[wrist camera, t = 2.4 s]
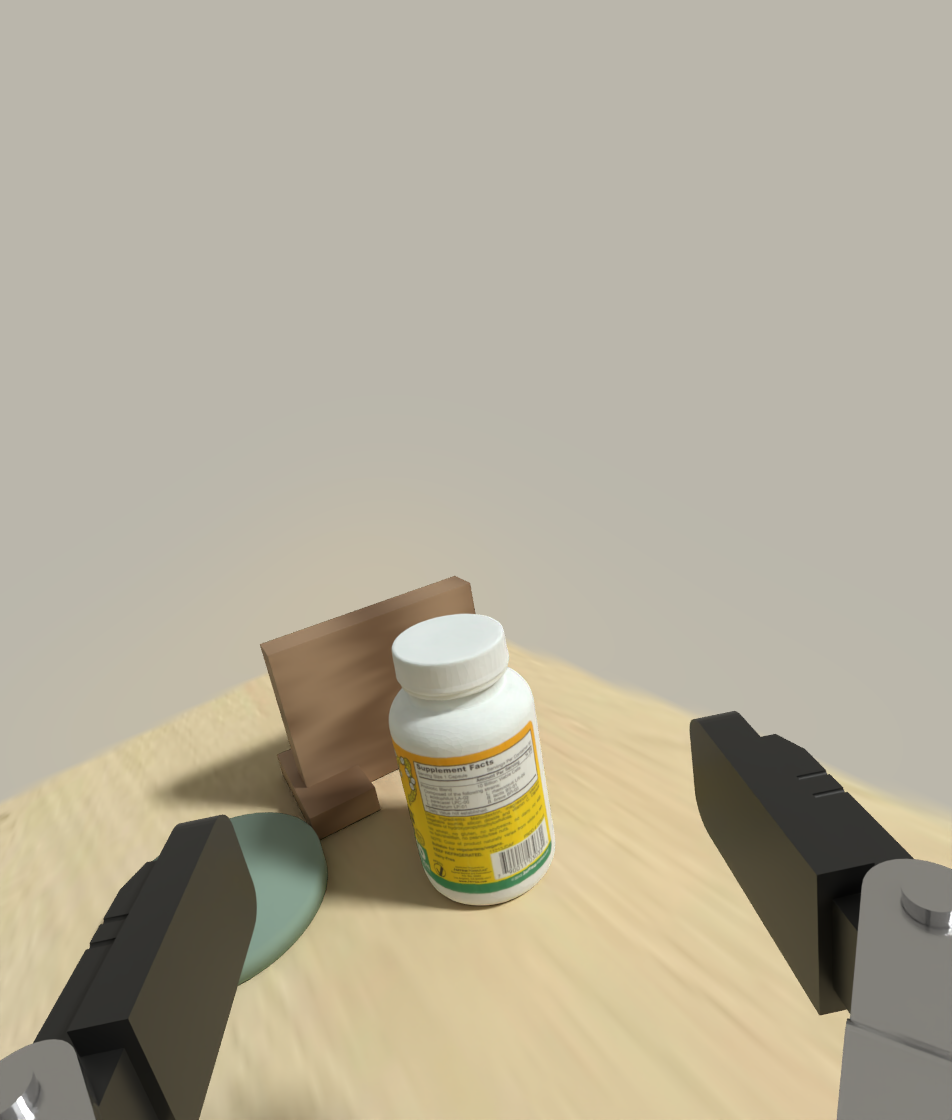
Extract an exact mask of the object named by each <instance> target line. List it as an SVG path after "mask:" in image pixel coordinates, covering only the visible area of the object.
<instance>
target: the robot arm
mask: <svg viewBox="0 0 952 1120" xmlns="http://www.w3.org/2000/svg"><path fill="white" fill-rule="evenodd" d="M690 740H691V752H692V763H693V774H694V786H695V795H696V801H697V805H698V809H699V812H700V816H701V818H702V821H703V823H704V826H705V828H706V830H707V832H708V834H709V835H710V837H711V839H712V840H713V842H714V844H715V845H716V847H717V848H718V850H719V852H720V853H721V855H722V857H723V858H724V860H725V862H726V863H727V865H728V866H729V868H730V870H731V871H732V873H733V875H734V876H735V878H736V880H737V881H738V883H739V884H740V886H741V888H742V889H743V891H744V893H745V894H746V896H747V898H748V899H749V901H750V902H751V904H752V906H753V907H754V909H755V911H756V912H757V914H758V915H759V917H760V919H761V920H762V922H763V924H764V925H765V927H766V929H767V930H768V932H769V933H770V935H771V937H772V938H773V940H774V942H775V943H776V945H777V947H778V948H779V950H780V951H781V953H782V955H783V956H784V958H785V960H786V961H787V963H788V965H789V966H790V968H791V969H792V971H793V973H794V974H795V976H796V978H797V979H798V981H799V983H800V984H801V986H802V987H803V989H804V991H805V992H806V994H807V996H808V997H809V999H810V1001H811V1002H812V1004H813V1005H814V1007H815V1009H816V1010H817V1012H818V1014H819V1015H824V1014H828V1013H833V1012H838V1011H842V1010H848V1011H849V1013H850V1019H847V1022H846V1029H845V1037H844V1047H843V1058H842V1069H841V1079H840V1090H839V1101H838V1111H837V1120H952V869H950V868H947V867H945V866H942V865H939V864H935V863H932V862H928V861H923V860H916V859H914V858H913V857H912V856H911V855H910V854H909V853H908V852H907V851H906V850H905V849H904V848H903V847H902V846H901V845H900V844H899V843H898V842H897V841H896V840H895V839H894V838H893V837H892V836H891V835H890V834H889V833H888V832H887V831H886V830H885V829H884V828H883V827H882V826H881V825H880V824H879V823H878V822H877V821H876V820H875V819H874V818H873V817H872V816H871V815H870V814H869V813H868V812H867V811H866V810H865V809H864V808H863V807H862V806H861V805H860V804H859V803H858V802H857V801H856V800H855V799H854V798H853V797H852V796H851V795H850V794H849V793H848V792H844V790H843V787H842V786H841V785H840V784H839V783H838V782H837V781H836V780H835V779H834V778H833V777H832V776H831V775H830V774H828V775H827V773H826V770H825V769H824V768H823V767H822V766H821V765H820V764H819V763H818V762H817V761H816V760H815V759H814V758H813V757H812V756H811V755H810V754H809V753H808V752H807V751H806V750H805V749H804V748H801V747H800V746H798V745H796V744H794V743H792V742H790V741H788V740H786V739H784V738H782V737H780V736H778V735H776V734H773V735H768V736H763V737H760V736H759V735H758V734H757V732H756V731H755V730H754V729H753V728H752V727H751V726H750V725H749V724H748V723H747V721H746V720H745V719H744V718H743V717H742V716H741V715H740V714H739V713H738V712H736V711H732V712H727V713H722V714H717V715H712V716H708V717H703V718H698V719H693V720H692V721H691V723H690ZM256 916H257V899H256V891H255V887H254V884H253V881H252V878H251V875H250V872H249V869H248V867H247V864H246V861H245V858H244V855H243V853H242V850H241V847H240V844H239V841H238V839H237V836H236V833H235V830H234V827H233V825H232V822H231V821H230V819H229V818H228V817H227V816H226V815H219V816H214V817H209V818H204V819H199V820H194V821H189V822H185V823H180V824H178V825H176V826H175V827H174V829H173V831H172V832H171V834H170V836H169V838H168V840H167V842H166V844H165V846H164V848H163V850H162V851H161V853H160V855H159V857H158V859H157V860H156V861H151V862H146V863H145V864H144V866H143V867H142V868H141V869H140V870H139V871H138V872H137V873H136V874H135V875H134V876H133V877H132V878H131V879H130V880H129V881H128V882H127V883H126V884H125V885H124V886H123V887H122V888H121V889H120V890H119V892H118V894H117V896H116V898H115V899H114V901H113V903H112V905H111V906H110V908H109V910H108V912H107V913H106V915H105V917H104V923H103V924H101V925H100V926H99V928H98V929H97V931H96V933H95V935H94V936H93V938H92V940H91V942H90V948H89V949H87V950H85V952H84V954H83V956H82V958H81V959H80V961H79V963H78V965H77V966H76V968H75V970H74V972H73V973H72V975H71V977H70V979H69V980H68V982H67V984H66V986H65V988H64V989H63V991H62V993H61V995H60V996H59V998H58V1000H57V1002H56V1003H55V1005H54V1007H53V1009H52V1010H51V1012H50V1014H49V1016H48V1018H47V1019H46V1021H45V1023H44V1025H43V1026H42V1028H41V1030H40V1032H39V1033H38V1035H37V1037H36V1039H35V1041H34V1042H33V1044H30V1045H28V1046H25V1047H23V1048H21V1049H19V1050H17V1051H15V1052H13V1053H12V1054H10V1055H9V1056H7V1057H5V1058H4V1059H2V1060H1V1061H0V1120H199V1117H200V1113H201V1110H202V1107H203V1103H204V1100H205V1096H206V1093H207V1089H208V1086H209V1083H210V1079H211V1076H212V1072H213V1069H214V1065H215V1062H216V1058H217V1055H218V1052H219V1048H220V1045H221V1041H222V1038H223V1034H224V1031H225V1028H226V1024H227V1021H228V1017H229V1014H230V1010H231V1007H232V1003H233V1000H234V997H235V993H236V990H237V986H238V983H239V979H240V976H241V973H242V969H243V966H244V962H245V959H246V955H247V952H248V948H249V945H250V942H251V938H252V935H253V931H254V928H255V923H256Z"/></svg>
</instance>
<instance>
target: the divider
mask: <svg viewBox="0 0 952 1120" xmlns="http://www.w3.org/2000/svg"><path fill="white" fill-rule="evenodd" d="M454 614H475V609H474V603H473V597H472V592H471V586H470V583H469V582H467V581H464V580H462V579H460V578H458V577H456V576H453V577H450V578H448V579H445V580H442V581H439V582H436V583H433V584H430V585H427V586H425V587H422V588H419V589H416V590H413V591H410V592H407V593H405V594H402V595H399V596H396V597H393V598H390V599H387V600H385V601H382V602H379V603H376V604H373V605H370V606H368V607H365V608H362V609H359V610H356V611H354V612H350V613H348V614H345V615H342V616H339V617H336V618H333V619H330V620H328V621H325V622H322V623H319V624H316V625H313V626H311V627H308V628H305V629H302V630H299V631H296V632H293V633H291V634H288V635H285V636H282V637H279V638H276V639H273V640H271V641H268V642H265V643H262V644H260V646H261V650H262V653H263V656H264V660H265V663H266V666H267V670H268V673H269V676H270V680H271V683H272V686H273V690H274V693H275V696H276V700H277V703H278V706H279V710H280V713H281V716H282V720H283V723H284V726H285V730H286V733H287V736H288V740H289V743H290V746H291V749H289V750H287V751H285V752H282V753H280V754H278V755H277V757H278V760H279V763H280V766H281V770H282V773H283V776H284V778H285V780H286V781H287V783H288V785H289V787H290V789H291V791H292V793H293V795H294V797H295V799H296V801H297V803H298V805H299V807H300V809H301V811H302V813H303V815H304V817H305V819H306V821H307V823H308V825H310V826H311V827H312V828H313V830H314V831H315V832H316V834H317V836H318V838H319V840H320V839H322V838H324V837H326V836H328V835H330V834H332V833H334V832H336V831H338V830H340V829H342V828H344V827H346V826H348V825H350V824H352V823H354V822H356V821H358V820H360V819H362V818H364V817H366V816H368V815H370V814H372V813H374V812H376V811H378V810H380V806H379V802H378V798H377V794H376V790H375V787H374V786H373V784H372V783H371V782H372V781H374V780H376V779H378V778H380V777H382V776H384V775H386V774H388V773H390V772H392V771H395V770H397V769H399V768H398V763H397V759H396V755H395V751H394V746H393V741H392V737H391V733H390V729H389V712H390V708H391V705H392V703H393V700H394V699H395V697H396V695H397V694H398V692H399V691H400V690H401V689H402V686H401V684H400V683H399V682H398V681H397V678H396V672H395V667H394V662H393V656H392V645H393V643H394V640H395V639H396V638H397V637H398V636H399V635H400V634H401V633H402V632H404V631H405V630H407V629H408V628H410V627H411V626H414V625H416V624H418V623H420V622H423V621H426V620H429V619H433V618H436V617H441V616H446V615H454Z"/></svg>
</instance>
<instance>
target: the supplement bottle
mask: <svg viewBox="0 0 952 1120" xmlns="http://www.w3.org/2000/svg"><path fill="white" fill-rule="evenodd" d="M392 656H393V662H394V667H395V672H396V678H397V681H398V682H399V683H400V684H401V686H402V689H401V690H400V691H399V692H398V694H397V695H396V697H395V699H394V700H393V703H392V705H391V708H390V712H389V729H390V733H391V737H392V741H393V746H394V751H395V755H396V759H397V763H398V768H399V772H400V776H401V780H402V784H403V788H404V792H405V796H406V800H407V804H408V809H409V813H410V817H411V821H412V825H413V829H414V834H415V838H416V842H417V846H418V850H419V855H420V858H421V862H422V865H423V868H424V871H425V873H426V875H427V877H428V878H429V880H430V882H431V883H432V885H433V886H434V887H435V888H436V889H437V890H438V891H439V892H440V893H441V894H443V895H444V896H446V897H448V898H450V899H451V900H453V901H456V902H459V903H463V904H469V905H493V904H499V903H503V902H506V901H509V900H512V899H514V898H516V897H518V896H520V895H522V894H524V893H525V892H527V891H528V890H530V889H531V888H532V887H533V886H535V885H536V884H537V883H538V882H539V881H540V880H541V878H542V877H543V876H544V875H545V873H546V872H547V870H548V868H549V867H550V865H551V862H552V859H553V856H554V852H555V835H554V827H553V821H552V815H551V808H550V802H549V796H548V789H547V782H546V776H545V770H544V764H543V757H542V751H541V744H540V737H539V731H538V724H537V717H536V710H535V704H534V698H533V695H532V692H531V689H530V687H529V685H528V684H527V682H526V681H525V680H524V678H523V677H522V676H521V675H520V674H518V673H517V672H516V671H514V670H513V669H511V668H509V667H507V666H508V661H509V653H508V649H507V645H506V640H505V634H504V630H503V627H502V625H501V624H500V623H499V622H498V621H496V620H494V619H493V618H491V617H488V616H483V615H477V614H454V615H446V616H441V617H436V618H433V619H429V620H426V621H423V622H420V623H418V624H416V625H414V626H411V627H410V628H408V629H407V630H405V631H404V632H402V633H401V634H400V635H399V636H398V637H397V638H396V639H395V640H394V643H393V645H392Z"/></svg>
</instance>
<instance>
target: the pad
mask: <svg viewBox="0 0 952 1120" xmlns="http://www.w3.org/2000/svg"><path fill="white" fill-rule="evenodd" d="M230 821H231V822H232V825H233V827H234V830H235V833H236V836H237V839H238V841H239V844H240V847H241V850H242V853H243V855H244V858H245V861H246V864H247V867H248V869H249V872H250V875H251V878H252V881H253V884H254V887H255V891H256V899H257V916H256V923H255V928H254V931H253V935H252V938H251V942H250V945H249V948H248V952H247V955H246V959H245V962H244V966H243V969H242V973H241V976H240V979H239V983H238V985H240V984H242V983H243V982H245V981H247V980H249V979H251V978H252V977H254V976H255V975H257V974H258V973H260V972H261V971H263V970H264V969H266V968H267V967H268V966H269V965H271V964H272V963H273V962H275V961H276V960H277V959H278V958H279V957H281V956H282V955H283V954H284V953H285V952H286V951H287V950H288V949H289V948H290V947H291V946H292V945H293V944H294V943H295V942H296V941H297V940H298V938H299V937H300V936H301V935H302V934H303V932H304V931H305V930H306V928H307V927H308V926H309V924H310V923H311V921H312V920H313V918H314V916H315V915H316V913H317V911H318V909H319V907H320V905H321V902H322V900H323V897H324V894H325V891H326V887H327V880H328V870H327V864H326V860H325V857H324V853H323V850H322V847H321V843H320V840H319V838H318V836H317V834H316V832H315V831H314V830H313V828H312V827H311V826H310V825H308V824H307V823H306V822H304V821H303V820H301V819H299V818H297V817H294V816H291V815H287V814H282V813H272V812H268V813H254V814H247V815H242V816H237V817H234V818H230ZM158 857H159V856H158ZM158 857H157V858H156V859H154V860H153V861H156V860H157V859H158Z"/></svg>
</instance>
